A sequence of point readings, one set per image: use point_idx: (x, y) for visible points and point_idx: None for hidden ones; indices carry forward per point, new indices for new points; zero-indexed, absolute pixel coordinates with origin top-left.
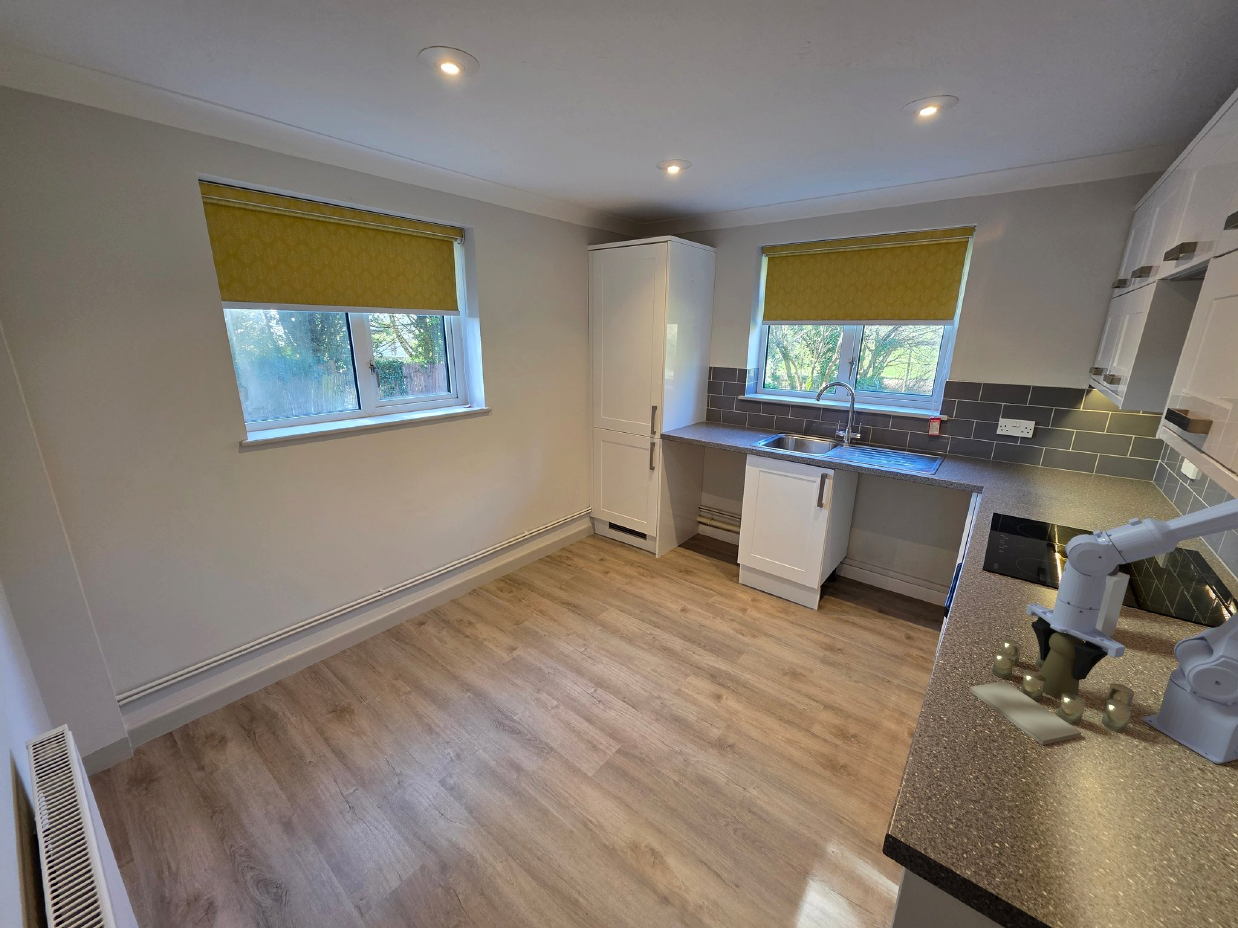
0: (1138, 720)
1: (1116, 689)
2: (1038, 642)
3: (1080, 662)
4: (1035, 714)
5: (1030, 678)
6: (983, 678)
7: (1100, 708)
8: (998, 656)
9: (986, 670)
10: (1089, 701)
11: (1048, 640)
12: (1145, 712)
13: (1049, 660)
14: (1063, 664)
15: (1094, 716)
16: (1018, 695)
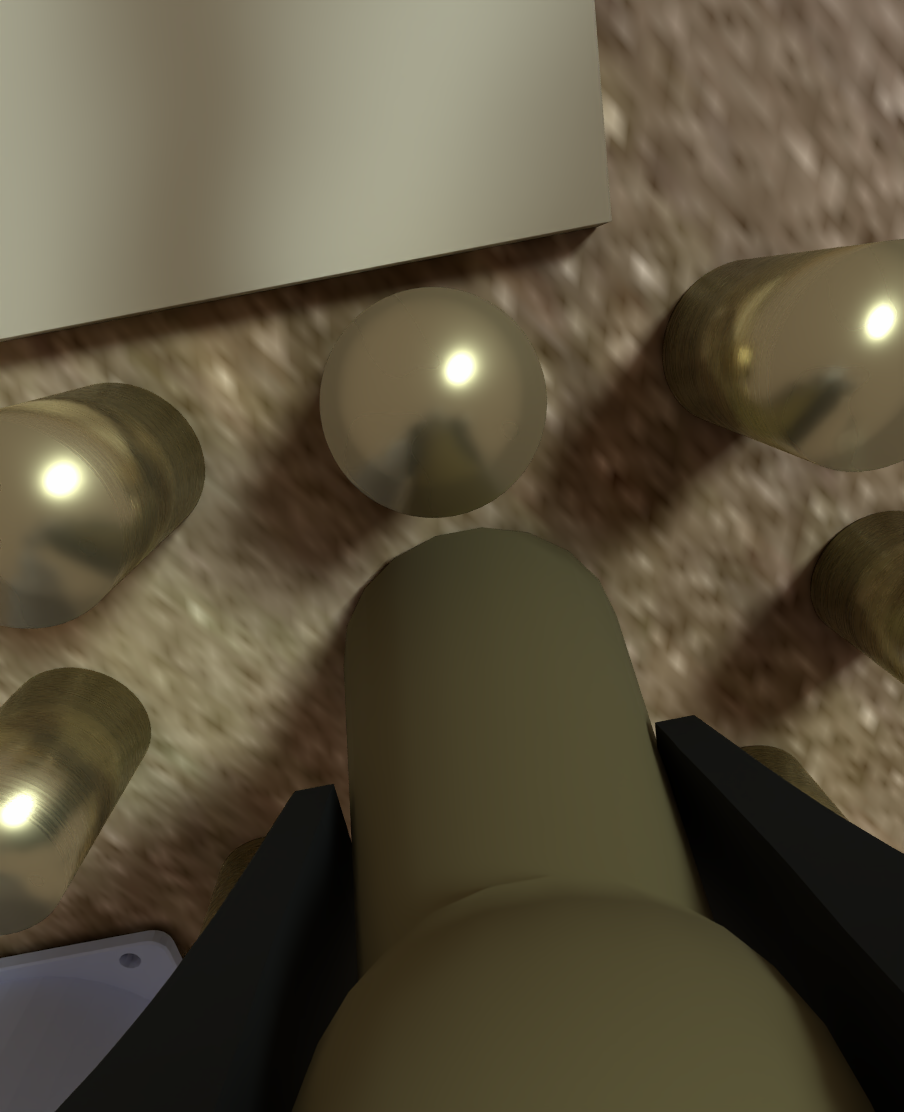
0: (169, 909)
1: None
2: (880, 843)
3: (162, 1031)
4: (48, 81)
5: (391, 298)
6: (718, 62)
7: (275, 789)
8: (901, 252)
9: (820, 227)
10: None
11: (839, 1012)
12: None
13: (569, 737)
14: (407, 816)
15: (179, 683)
16: (368, 169)
